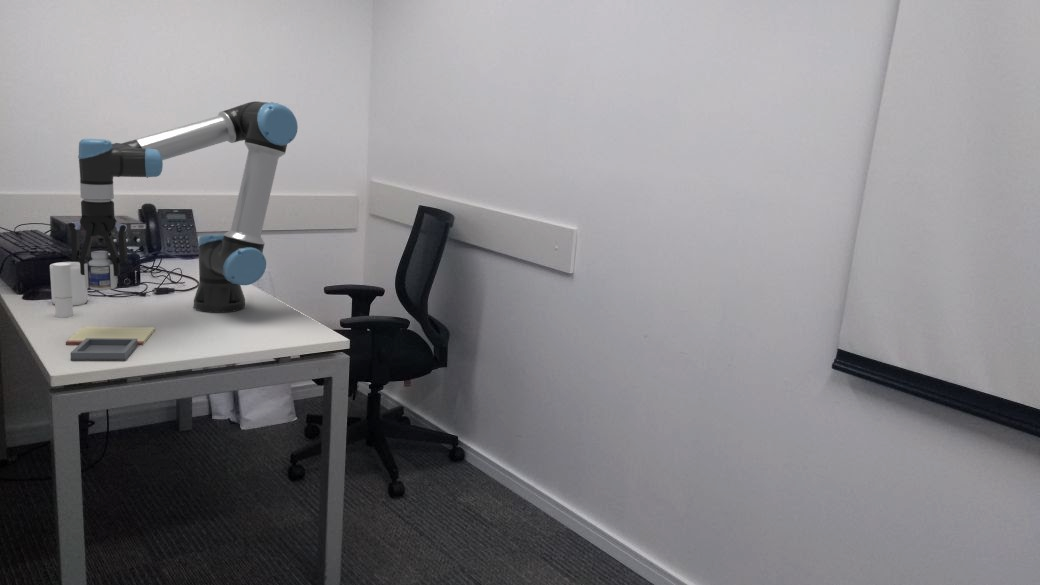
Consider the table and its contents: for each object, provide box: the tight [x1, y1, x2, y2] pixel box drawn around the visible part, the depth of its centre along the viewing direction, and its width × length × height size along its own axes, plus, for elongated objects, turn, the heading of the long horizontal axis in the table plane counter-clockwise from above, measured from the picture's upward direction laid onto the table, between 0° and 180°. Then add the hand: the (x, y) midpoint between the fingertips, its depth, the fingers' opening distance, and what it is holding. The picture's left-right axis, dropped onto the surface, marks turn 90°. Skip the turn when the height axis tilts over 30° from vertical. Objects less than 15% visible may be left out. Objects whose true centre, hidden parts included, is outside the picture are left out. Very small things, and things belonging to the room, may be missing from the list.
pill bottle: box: [88, 250, 113, 291], centre depth 204 cm, size 5×5×10 cm
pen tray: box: [70, 338, 139, 362], centre depth 193 cm, size 12×12×2 cm
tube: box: [52, 262, 74, 318], centre depth 220 cm, size 4×4×15 cm
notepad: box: [65, 326, 156, 346], centre depth 206 cm, size 18×14×1 cm
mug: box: [49, 261, 89, 307], centre depth 235 cm, size 10×12×12 cm
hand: (101, 287), depth 205 cm, fingers closed on pill bottle, 5 cm apart
